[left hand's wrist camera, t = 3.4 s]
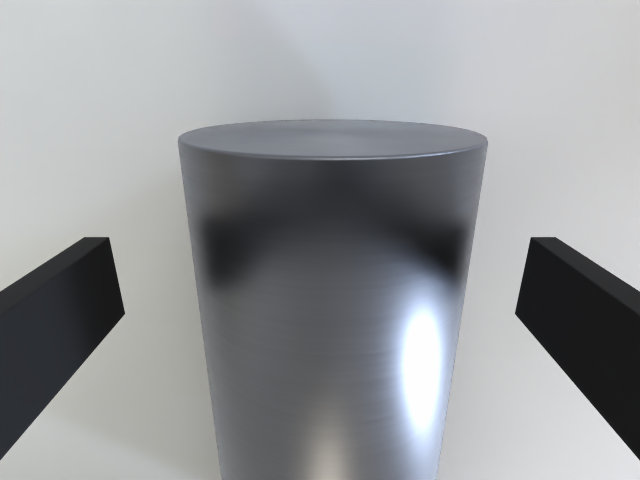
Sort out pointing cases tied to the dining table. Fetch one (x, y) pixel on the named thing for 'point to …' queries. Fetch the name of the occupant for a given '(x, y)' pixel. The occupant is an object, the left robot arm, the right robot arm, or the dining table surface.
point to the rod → (331, 290)
